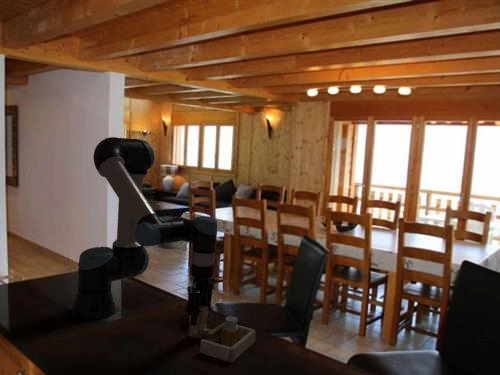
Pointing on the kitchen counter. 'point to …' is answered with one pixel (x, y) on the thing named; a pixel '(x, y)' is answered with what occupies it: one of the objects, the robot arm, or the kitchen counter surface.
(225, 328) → the supplement bottle
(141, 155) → the robot arm
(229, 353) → the corral
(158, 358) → the kitchen counter surface
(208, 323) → the mug
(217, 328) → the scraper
